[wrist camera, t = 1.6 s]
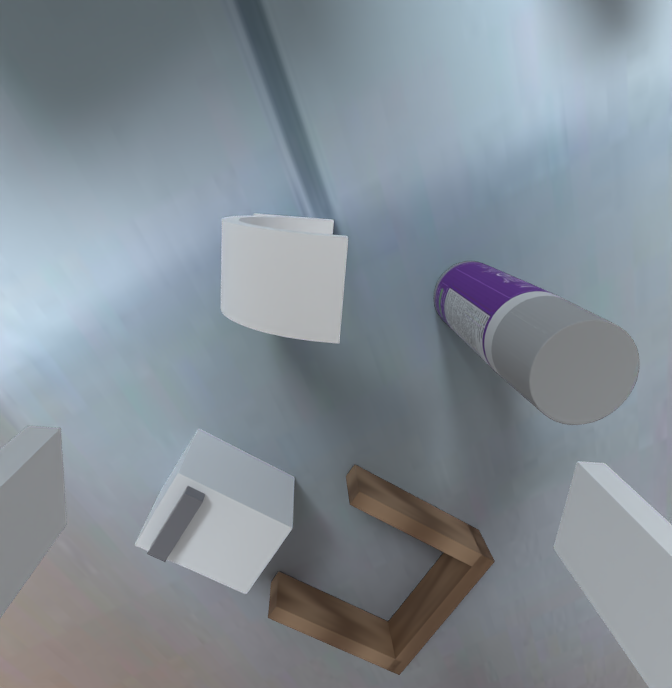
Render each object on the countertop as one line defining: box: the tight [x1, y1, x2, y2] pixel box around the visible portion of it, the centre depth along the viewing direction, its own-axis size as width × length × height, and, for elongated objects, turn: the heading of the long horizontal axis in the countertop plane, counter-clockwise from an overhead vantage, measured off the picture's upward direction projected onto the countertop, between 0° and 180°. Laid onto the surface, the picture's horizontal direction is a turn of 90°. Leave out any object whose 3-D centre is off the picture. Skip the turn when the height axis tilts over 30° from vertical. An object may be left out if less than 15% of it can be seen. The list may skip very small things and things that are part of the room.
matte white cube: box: [135, 428, 295, 594], centre depth 34 cm, size 8×6×7 cm
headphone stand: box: [221, 213, 348, 343], centre depth 27 cm, size 5×6×12 cm
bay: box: [268, 464, 495, 675], centre depth 38 cm, size 12×12×4 cm
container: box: [434, 261, 639, 425], centre depth 27 cm, size 5×5×15 cm
